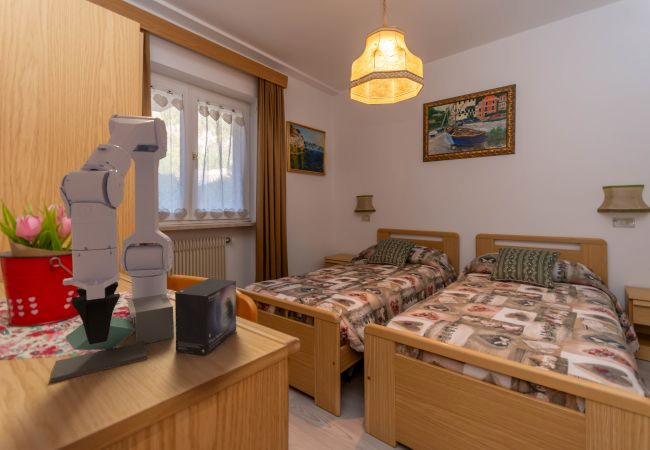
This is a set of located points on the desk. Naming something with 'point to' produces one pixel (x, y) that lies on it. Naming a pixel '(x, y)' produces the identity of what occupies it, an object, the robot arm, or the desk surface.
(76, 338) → the green block
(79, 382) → the desk surface
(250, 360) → the desk surface
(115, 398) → the desk surface
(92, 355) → the mat
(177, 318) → the small box
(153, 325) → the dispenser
